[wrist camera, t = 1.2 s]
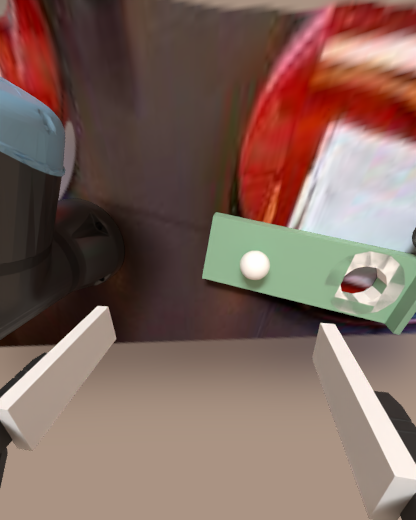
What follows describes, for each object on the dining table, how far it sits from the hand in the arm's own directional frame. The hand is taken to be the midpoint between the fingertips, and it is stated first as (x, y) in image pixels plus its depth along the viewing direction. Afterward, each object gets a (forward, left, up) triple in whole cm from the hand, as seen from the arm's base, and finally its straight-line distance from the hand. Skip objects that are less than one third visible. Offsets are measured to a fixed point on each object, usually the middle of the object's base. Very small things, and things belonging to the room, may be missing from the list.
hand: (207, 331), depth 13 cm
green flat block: (+11, -2, -21) cm, 24 cm away
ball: (+4, -2, -17) cm, 17 cm away
